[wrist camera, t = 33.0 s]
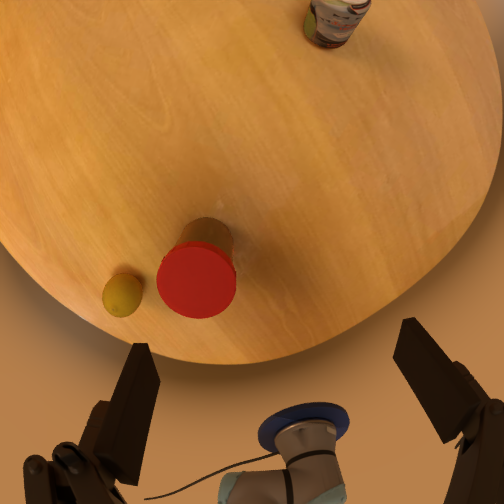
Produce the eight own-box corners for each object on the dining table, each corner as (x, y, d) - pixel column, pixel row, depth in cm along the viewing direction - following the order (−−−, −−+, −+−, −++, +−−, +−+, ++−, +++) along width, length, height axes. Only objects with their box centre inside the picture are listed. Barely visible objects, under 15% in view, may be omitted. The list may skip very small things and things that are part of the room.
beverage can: (320, 58, 31) (354, 28, 20) (286, 18, 29) (306, -24, 17) (354, 40, 30) (395, 11, 19) (322, 2, 28) (351, -38, 16)
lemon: (155, 286, 41) (141, 315, 34) (131, 303, 42) (114, 334, 35) (131, 257, 40) (111, 283, 32) (107, 277, 40) (86, 304, 33)
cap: (174, 228, 28) (170, 234, 26) (248, 258, 29) (249, 266, 28) (151, 293, 30) (147, 302, 28) (219, 319, 32) (218, 328, 30)
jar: (219, 275, 41) (215, 321, 31) (172, 254, 40) (152, 295, 29) (242, 231, 39) (245, 266, 28) (192, 208, 38) (176, 235, 27)
